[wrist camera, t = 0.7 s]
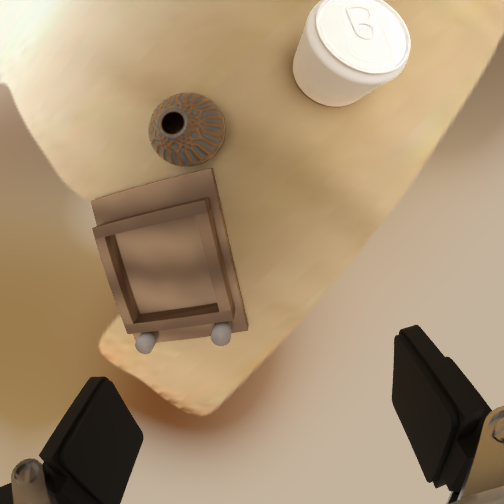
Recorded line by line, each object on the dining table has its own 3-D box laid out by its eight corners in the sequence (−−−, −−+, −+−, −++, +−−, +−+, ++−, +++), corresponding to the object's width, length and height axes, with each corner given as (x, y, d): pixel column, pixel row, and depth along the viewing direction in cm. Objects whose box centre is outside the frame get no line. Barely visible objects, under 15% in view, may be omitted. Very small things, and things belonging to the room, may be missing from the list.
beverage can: (299, 111, 29) (322, 81, 17) (285, 42, 27) (297, -15, 15) (373, 105, 28) (427, 81, 17) (357, 39, 26) (399, -10, 15)
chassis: (95, 199, 32) (76, 205, 28) (212, 168, 31) (205, 168, 27) (140, 339, 37) (128, 357, 33) (248, 325, 36) (246, 344, 32)
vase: (208, 177, 31) (189, 183, 23) (152, 148, 30) (116, 144, 22) (241, 119, 29) (234, 102, 21) (183, 91, 29) (158, 68, 20)
